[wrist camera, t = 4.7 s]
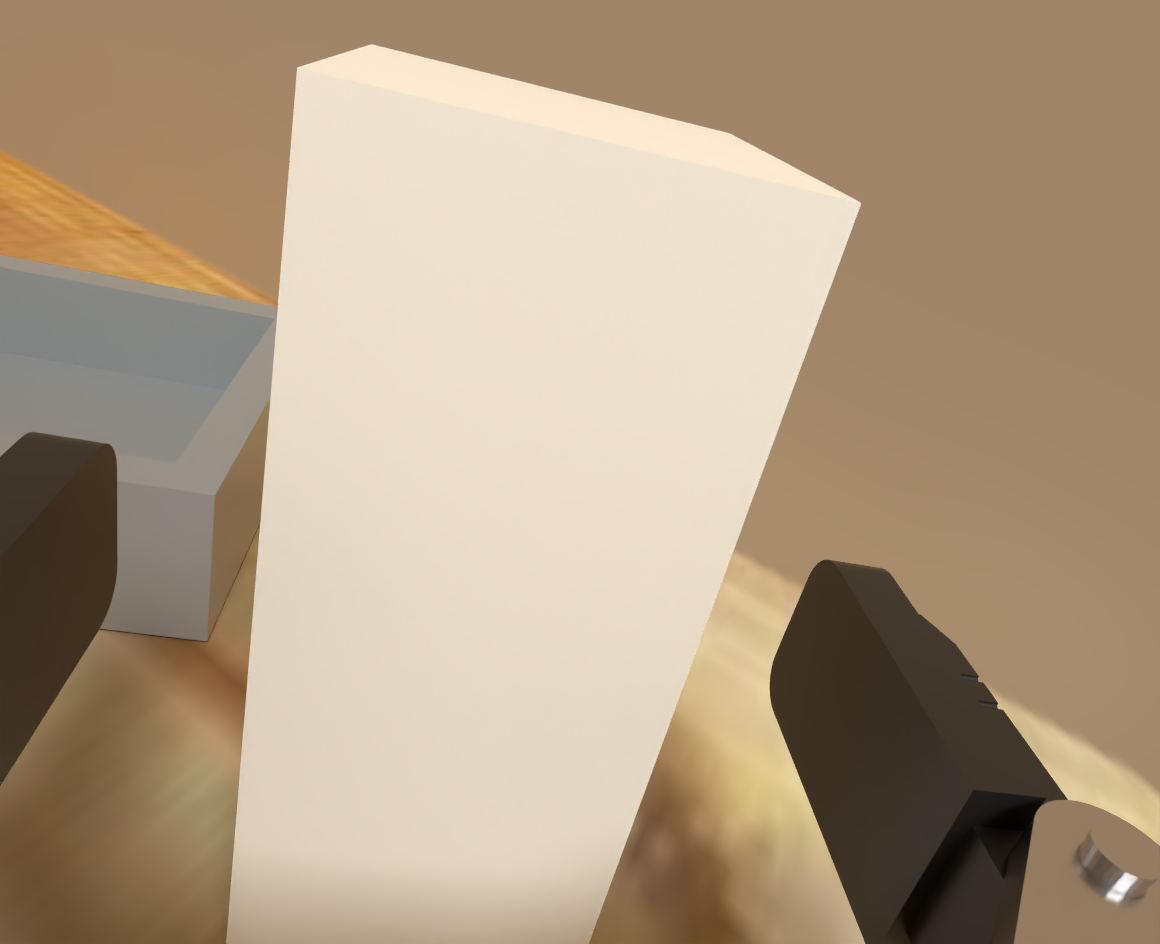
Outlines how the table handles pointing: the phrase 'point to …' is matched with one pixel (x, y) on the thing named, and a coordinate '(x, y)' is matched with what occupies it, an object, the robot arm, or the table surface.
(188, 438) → the tray
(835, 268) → the cream block
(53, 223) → the table surface
